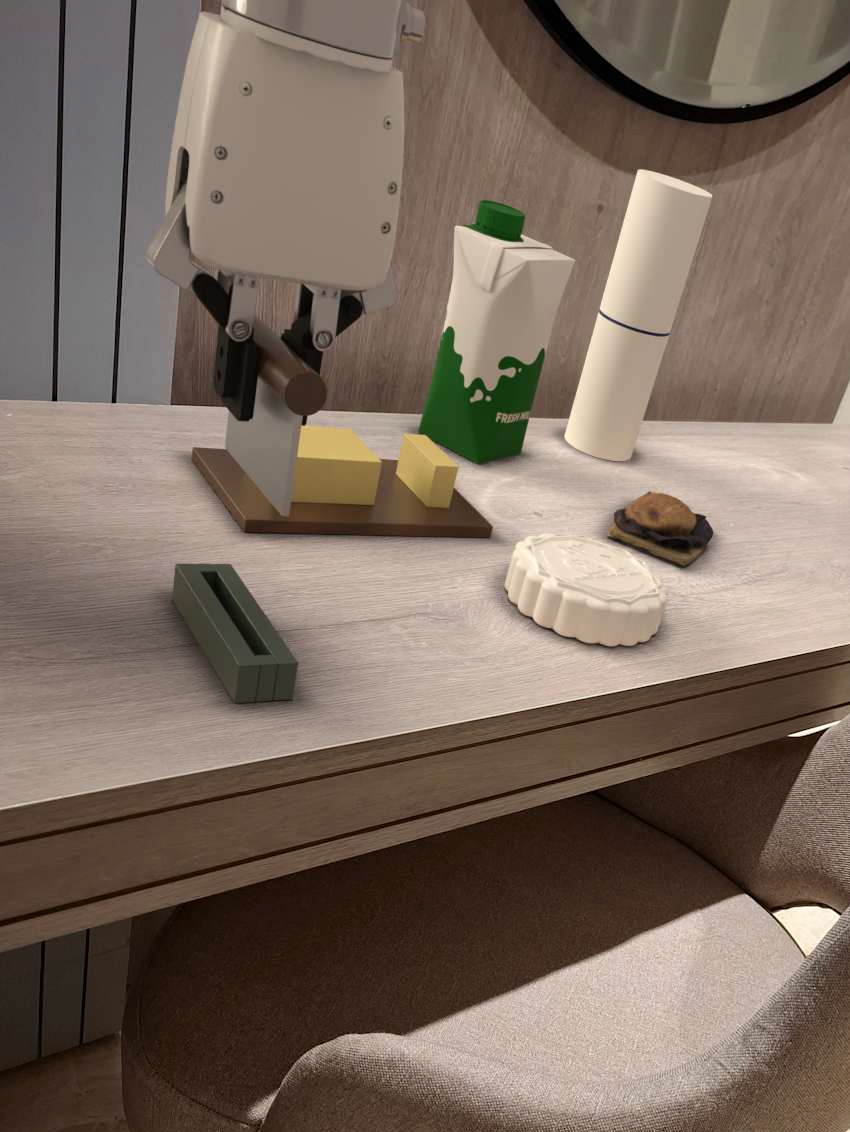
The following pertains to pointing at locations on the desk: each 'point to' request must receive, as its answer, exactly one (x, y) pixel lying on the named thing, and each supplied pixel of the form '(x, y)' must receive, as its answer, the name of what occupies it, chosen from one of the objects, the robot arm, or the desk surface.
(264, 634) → the holder
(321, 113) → the robot arm
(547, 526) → the desk surface
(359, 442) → the butter block
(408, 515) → the butter board
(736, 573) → the desk surface
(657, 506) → the open sandwich
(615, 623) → the mooncake
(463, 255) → the milk carton
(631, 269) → the cylindrical container
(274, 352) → the butter cutter
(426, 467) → the butter slice
